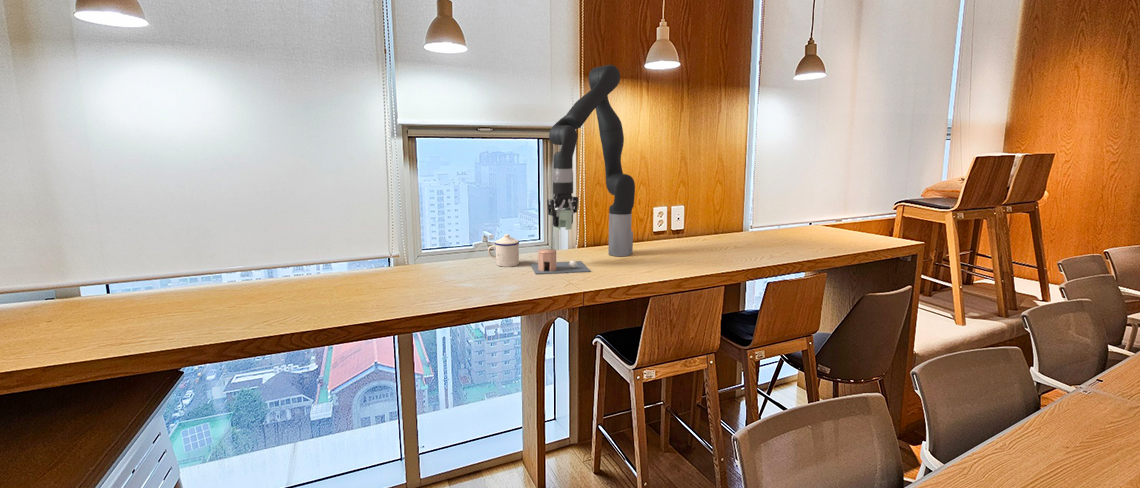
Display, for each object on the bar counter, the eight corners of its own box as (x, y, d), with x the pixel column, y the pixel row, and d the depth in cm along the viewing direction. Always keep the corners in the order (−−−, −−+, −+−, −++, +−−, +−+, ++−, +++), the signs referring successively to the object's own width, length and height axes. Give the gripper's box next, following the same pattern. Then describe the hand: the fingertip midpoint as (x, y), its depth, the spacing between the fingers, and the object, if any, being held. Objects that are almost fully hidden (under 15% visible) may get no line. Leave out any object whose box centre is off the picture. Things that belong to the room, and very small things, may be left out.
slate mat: (581, 262, 213) (581, 261, 213) (590, 271, 198) (590, 270, 198) (530, 264, 210) (530, 263, 210) (535, 274, 194) (535, 273, 194)
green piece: (563, 226, 210) (563, 208, 208) (575, 228, 205) (575, 209, 204) (550, 228, 205) (550, 209, 204) (562, 230, 201) (562, 211, 199)
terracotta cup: (548, 266, 204) (548, 248, 203) (559, 269, 200) (559, 250, 198) (534, 269, 200) (534, 250, 199) (546, 272, 195) (546, 253, 194)
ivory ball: (573, 266, 204) (573, 259, 203) (578, 268, 201) (578, 260, 201) (567, 268, 202) (567, 260, 201) (572, 269, 200) (572, 261, 199)
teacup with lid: (521, 262, 213) (520, 232, 211) (517, 267, 204) (516, 236, 202) (491, 261, 214) (490, 232, 212) (485, 266, 205) (484, 236, 203)
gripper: (569, 179, 209) (569, 222, 213) (541, 181, 200) (541, 226, 203) (583, 180, 204) (583, 224, 207) (555, 182, 194) (555, 229, 198)
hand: (562, 225), depth 205 cm, fingers closed on green piece, 6 cm apart
